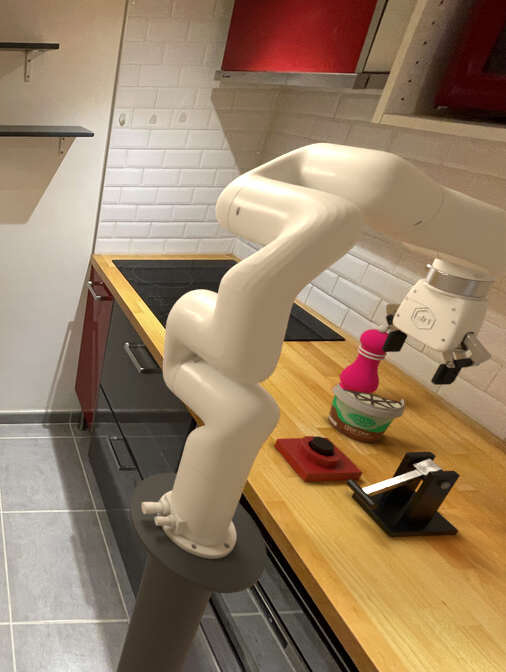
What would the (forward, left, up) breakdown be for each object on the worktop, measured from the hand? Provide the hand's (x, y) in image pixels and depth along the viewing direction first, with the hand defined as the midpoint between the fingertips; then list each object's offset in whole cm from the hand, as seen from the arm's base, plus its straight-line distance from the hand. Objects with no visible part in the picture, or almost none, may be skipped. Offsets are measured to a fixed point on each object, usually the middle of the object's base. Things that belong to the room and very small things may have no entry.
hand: (414, 366), depth 81 cm
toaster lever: (-8, -12, -16) cm, 22 cm away
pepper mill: (+14, +20, -24) cm, 34 cm away
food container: (+4, +7, -24) cm, 25 cm away
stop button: (-11, 0, -20) cm, 23 cm away
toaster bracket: (-4, -12, -24) cm, 27 cm away
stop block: (-11, 0, -24) cm, 26 cm away
